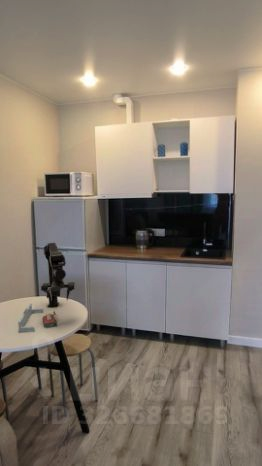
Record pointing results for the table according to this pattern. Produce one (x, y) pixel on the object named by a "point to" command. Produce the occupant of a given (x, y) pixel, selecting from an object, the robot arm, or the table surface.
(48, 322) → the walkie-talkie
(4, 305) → the table surface
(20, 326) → the mounting bracket
